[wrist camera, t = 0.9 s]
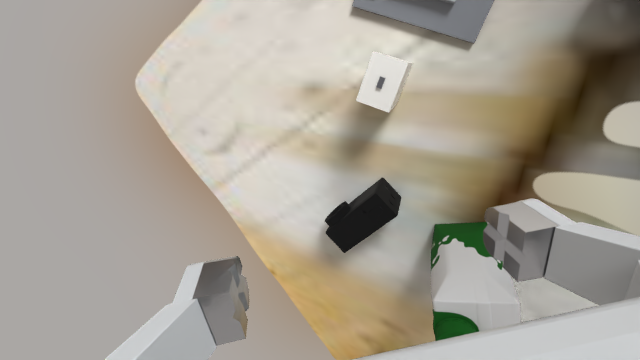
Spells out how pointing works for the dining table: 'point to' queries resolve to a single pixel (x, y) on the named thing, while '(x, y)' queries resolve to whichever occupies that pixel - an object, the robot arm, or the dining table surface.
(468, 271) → the milk carton
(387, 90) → the charger brick
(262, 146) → the dining table surface
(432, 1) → the socket plate
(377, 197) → the digital camera
